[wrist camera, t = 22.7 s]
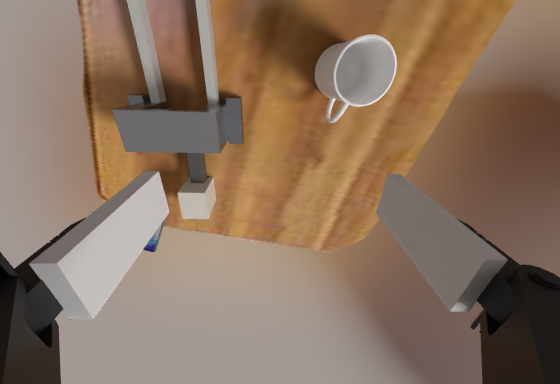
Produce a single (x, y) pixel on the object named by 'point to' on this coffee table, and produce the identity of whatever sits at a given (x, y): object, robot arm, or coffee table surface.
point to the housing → (179, 126)
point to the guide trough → (149, 55)
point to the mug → (355, 72)
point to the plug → (197, 190)
